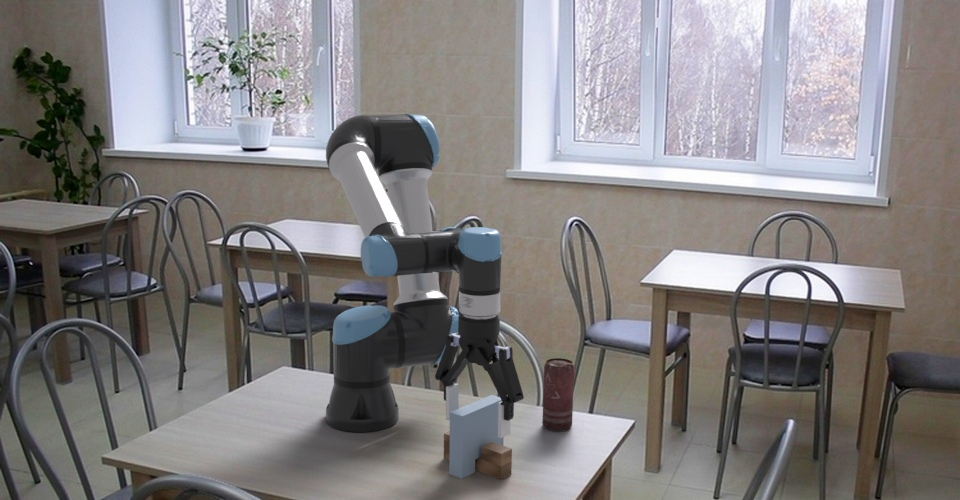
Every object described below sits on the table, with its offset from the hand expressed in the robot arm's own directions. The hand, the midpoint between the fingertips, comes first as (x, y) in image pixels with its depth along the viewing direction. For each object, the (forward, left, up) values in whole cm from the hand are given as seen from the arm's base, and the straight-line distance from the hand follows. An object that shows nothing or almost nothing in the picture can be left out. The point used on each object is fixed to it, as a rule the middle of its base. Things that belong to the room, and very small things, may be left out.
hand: (477, 426), depth 182 cm
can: (0, +26, -8) cm, 27 cm away
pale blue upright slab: (0, 0, -8) cm, 8 cm away
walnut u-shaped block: (0, 0, -8) cm, 8 cm away
